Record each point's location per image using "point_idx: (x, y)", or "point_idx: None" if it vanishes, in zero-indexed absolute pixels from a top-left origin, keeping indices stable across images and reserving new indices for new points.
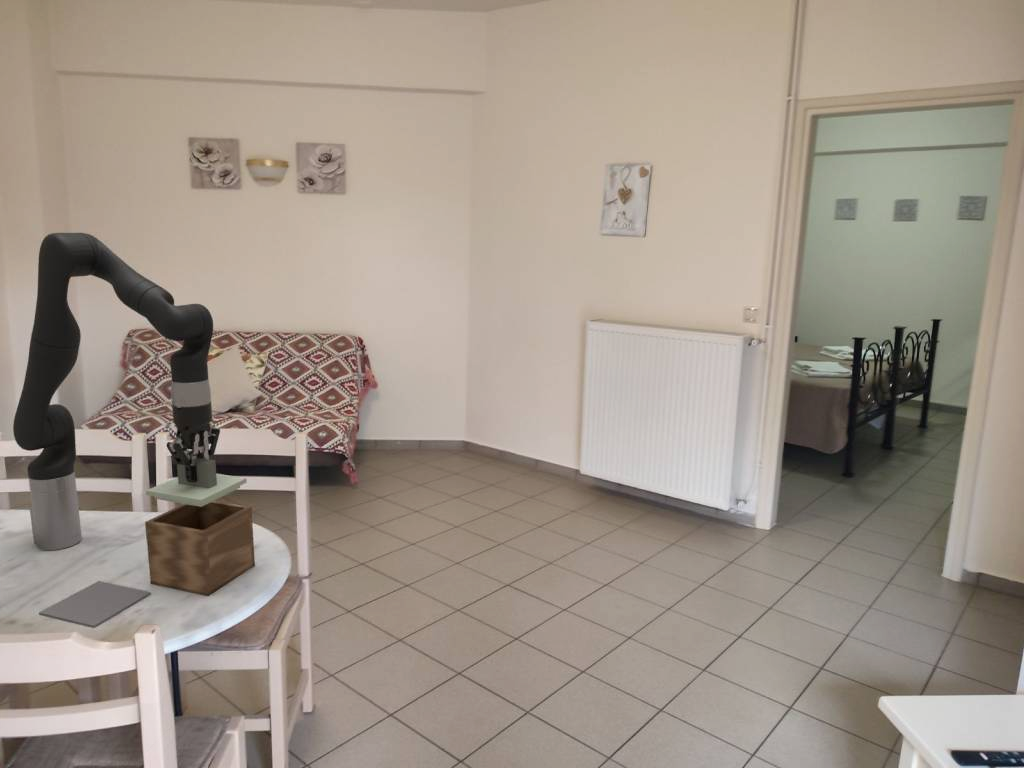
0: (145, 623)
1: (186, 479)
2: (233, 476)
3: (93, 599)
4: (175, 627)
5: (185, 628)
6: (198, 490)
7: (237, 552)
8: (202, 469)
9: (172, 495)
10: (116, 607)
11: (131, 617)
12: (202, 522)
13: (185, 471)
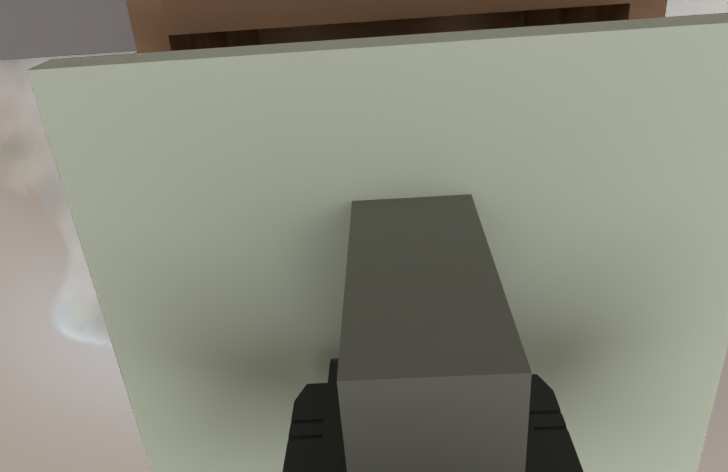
0: (39, 196)
1: (303, 391)
2: (693, 461)
3: None
4: (84, 290)
5: (99, 317)
6: None
7: None
8: None
9: (119, 360)
10: (20, 24)
11: (30, 123)
12: (572, 20)
13: (286, 461)
